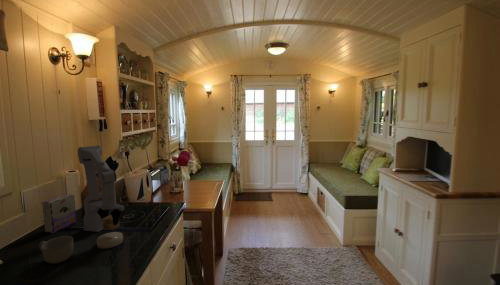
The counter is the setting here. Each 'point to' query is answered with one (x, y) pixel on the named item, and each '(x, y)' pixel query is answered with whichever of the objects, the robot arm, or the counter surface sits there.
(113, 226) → the oak cube
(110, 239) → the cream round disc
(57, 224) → the candy box
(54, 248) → the teacup
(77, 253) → the counter surface
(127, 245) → the counter surface
